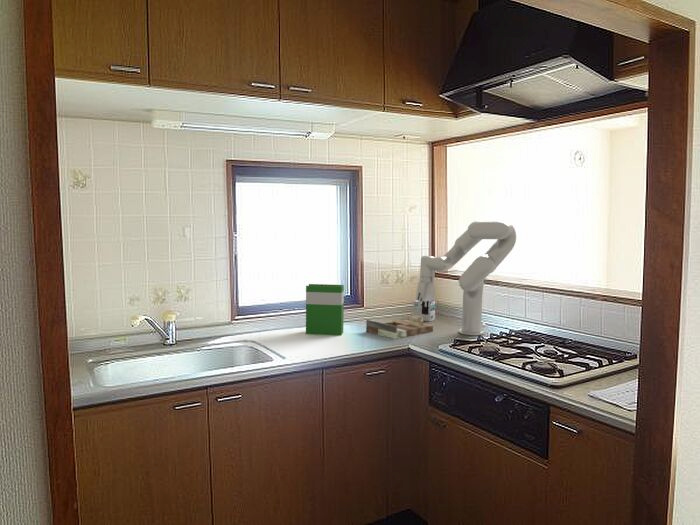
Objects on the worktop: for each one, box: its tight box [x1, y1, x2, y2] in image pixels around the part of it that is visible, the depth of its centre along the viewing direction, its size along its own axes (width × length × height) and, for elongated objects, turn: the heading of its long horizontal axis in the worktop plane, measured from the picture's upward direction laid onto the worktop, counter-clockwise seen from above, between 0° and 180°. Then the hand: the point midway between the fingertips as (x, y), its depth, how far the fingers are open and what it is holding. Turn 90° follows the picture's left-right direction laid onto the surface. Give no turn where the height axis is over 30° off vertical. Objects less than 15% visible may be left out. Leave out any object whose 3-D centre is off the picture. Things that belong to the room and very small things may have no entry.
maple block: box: [408, 315, 424, 326], centre depth 268 cm, size 5×5×4 cm
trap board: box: [365, 319, 434, 340], centre depth 264 cm, size 28×20×6 cm
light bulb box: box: [413, 299, 436, 322], centre depth 296 cm, size 11×7×11 cm, turn 58°
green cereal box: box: [305, 283, 345, 336], centre depth 258 cm, size 18×7×24 cm, turn 83°
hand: (424, 314), depth 273 cm, fingers closed
